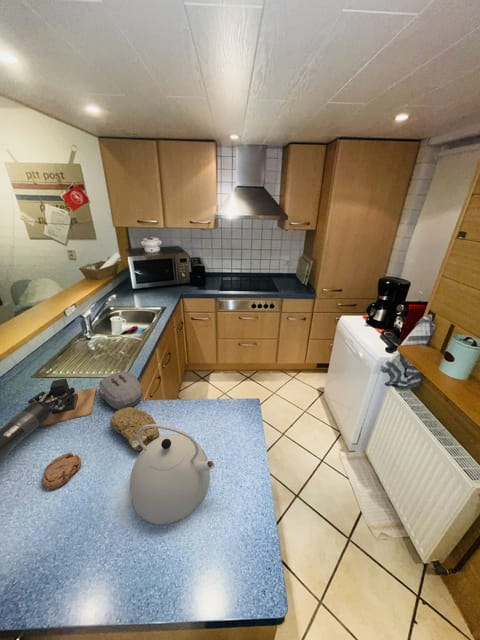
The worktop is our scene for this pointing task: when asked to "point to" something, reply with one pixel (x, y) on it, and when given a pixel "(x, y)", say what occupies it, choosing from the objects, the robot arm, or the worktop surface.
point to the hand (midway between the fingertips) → (66, 388)
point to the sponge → (134, 426)
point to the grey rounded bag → (121, 390)
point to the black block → (60, 388)
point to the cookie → (60, 470)
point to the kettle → (169, 477)
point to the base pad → (74, 407)
